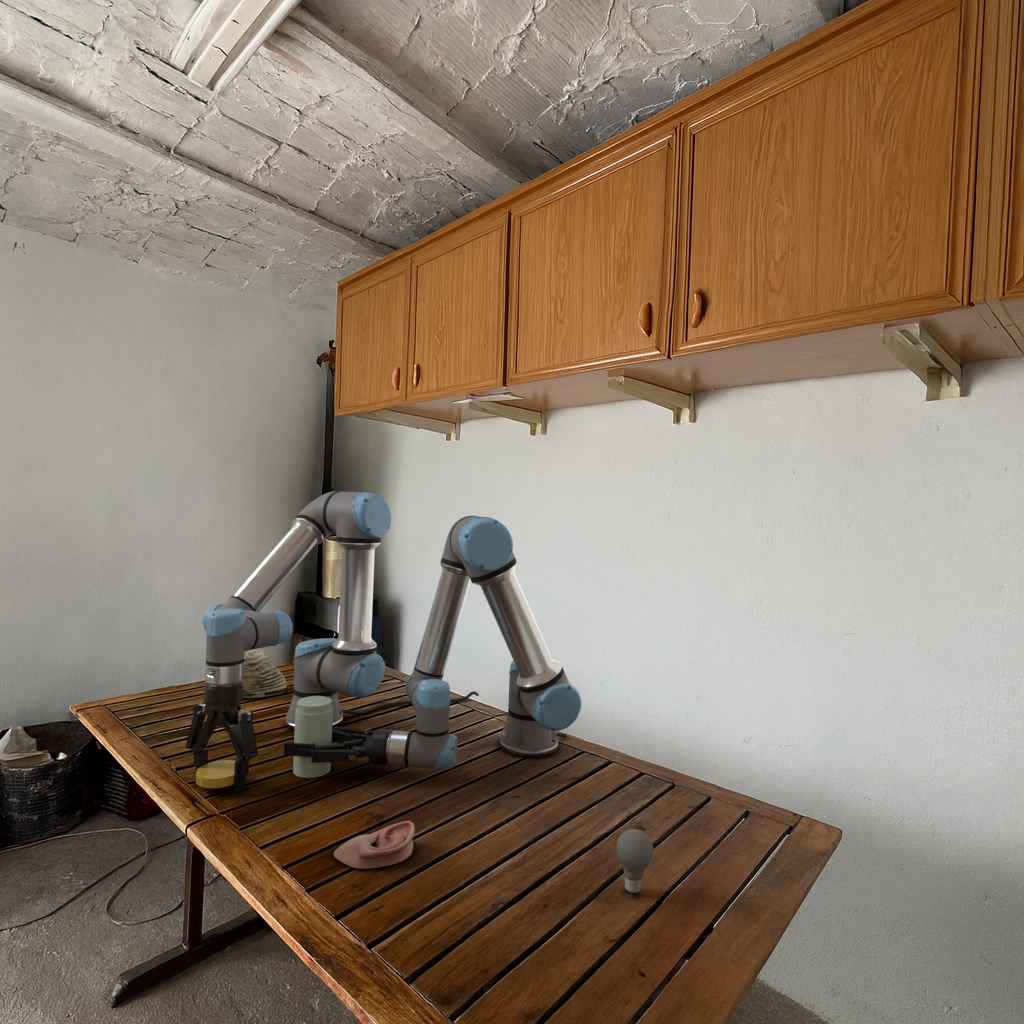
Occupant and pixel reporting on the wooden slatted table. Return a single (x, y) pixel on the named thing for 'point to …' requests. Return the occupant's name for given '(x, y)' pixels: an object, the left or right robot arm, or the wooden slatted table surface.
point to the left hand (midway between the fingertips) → (220, 785)
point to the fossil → (261, 675)
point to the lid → (216, 774)
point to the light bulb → (634, 857)
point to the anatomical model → (378, 847)
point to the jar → (312, 733)
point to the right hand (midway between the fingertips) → (293, 741)
